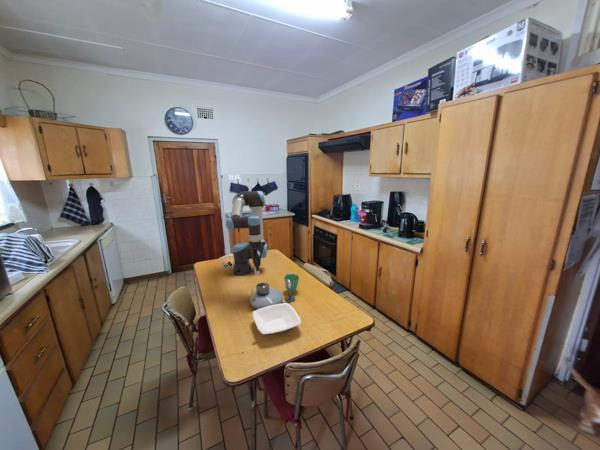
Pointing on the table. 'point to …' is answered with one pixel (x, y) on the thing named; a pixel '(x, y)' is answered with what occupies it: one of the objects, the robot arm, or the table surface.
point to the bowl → (276, 318)
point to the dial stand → (290, 297)
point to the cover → (262, 289)
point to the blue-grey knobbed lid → (265, 298)
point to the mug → (292, 281)
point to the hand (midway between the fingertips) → (257, 274)
